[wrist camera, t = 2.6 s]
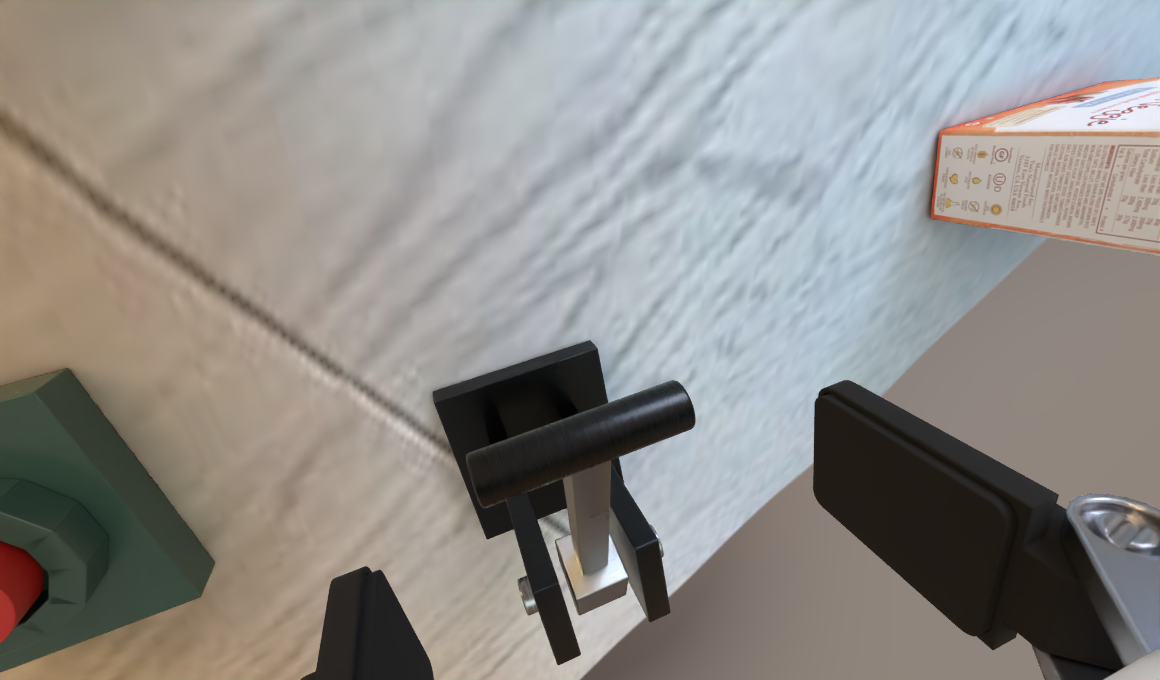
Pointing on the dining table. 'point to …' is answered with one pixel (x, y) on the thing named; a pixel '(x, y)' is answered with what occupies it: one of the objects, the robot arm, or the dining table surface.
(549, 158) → the dining table surface
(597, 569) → the switch lever
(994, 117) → the cracker box
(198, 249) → the dining table surface
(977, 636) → the robot arm
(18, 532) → the button box
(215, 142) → the dining table surface
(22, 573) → the red button
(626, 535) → the switch bracket
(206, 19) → the dining table surface
